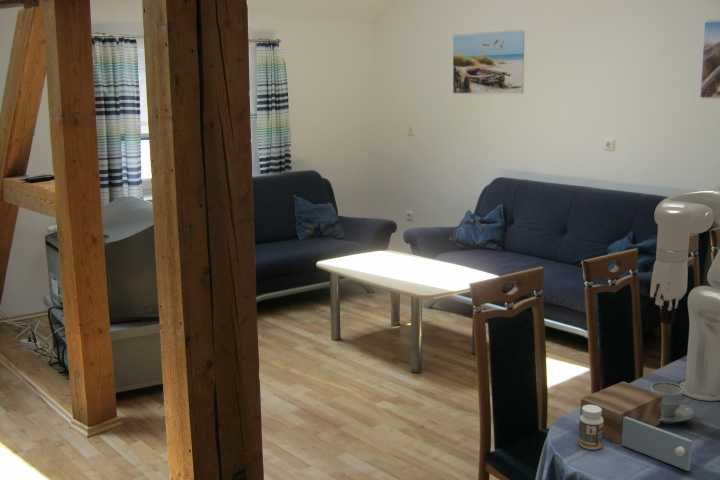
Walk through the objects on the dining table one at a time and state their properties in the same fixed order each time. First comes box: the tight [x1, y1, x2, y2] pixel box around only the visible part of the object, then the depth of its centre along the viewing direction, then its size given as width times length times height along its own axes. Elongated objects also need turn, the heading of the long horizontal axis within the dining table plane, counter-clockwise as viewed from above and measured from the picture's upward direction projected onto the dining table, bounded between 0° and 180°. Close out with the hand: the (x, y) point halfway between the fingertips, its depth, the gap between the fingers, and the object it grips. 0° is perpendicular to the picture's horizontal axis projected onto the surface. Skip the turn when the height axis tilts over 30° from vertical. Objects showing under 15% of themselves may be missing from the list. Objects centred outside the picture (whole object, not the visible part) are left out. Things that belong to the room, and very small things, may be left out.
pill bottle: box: [578, 405, 604, 451], centre depth 185 cm, size 6×6×10 cm
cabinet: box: [579, 380, 663, 445], centre depth 195 cm, size 18×12×8 cm, turn 125°
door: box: [621, 416, 693, 472], centre depth 177 cm, size 17×2×7 cm, turn 40°
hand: (667, 323), depth 193 cm, fingers closed
